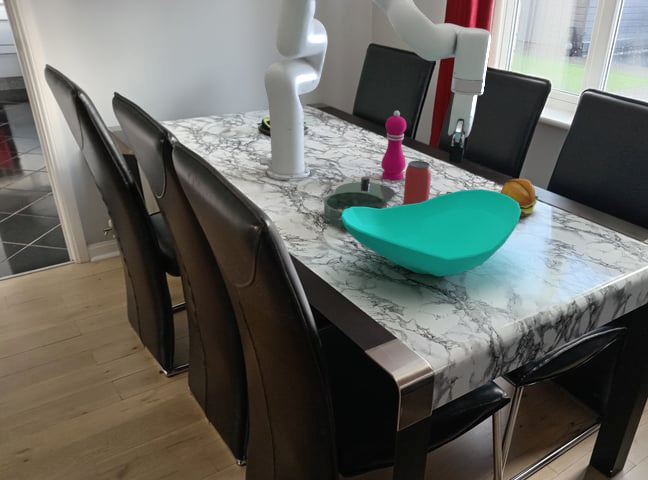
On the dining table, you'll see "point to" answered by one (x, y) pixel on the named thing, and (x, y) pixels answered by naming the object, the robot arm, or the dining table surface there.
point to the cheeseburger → (521, 194)
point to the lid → (368, 188)
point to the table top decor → (437, 230)
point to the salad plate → (265, 127)
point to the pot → (349, 204)
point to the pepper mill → (394, 148)
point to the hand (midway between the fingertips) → (457, 156)
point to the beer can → (417, 182)
